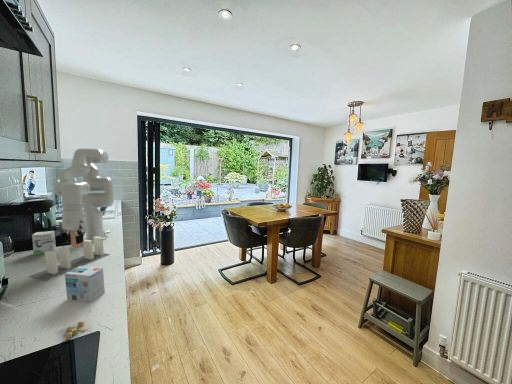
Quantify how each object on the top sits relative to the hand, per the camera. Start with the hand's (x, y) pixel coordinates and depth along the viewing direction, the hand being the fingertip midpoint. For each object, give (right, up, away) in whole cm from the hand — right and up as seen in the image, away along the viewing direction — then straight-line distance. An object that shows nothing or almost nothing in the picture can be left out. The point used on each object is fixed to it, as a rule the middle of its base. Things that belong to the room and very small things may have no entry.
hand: (75, 241), depth 110 cm
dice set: (+36, -19, -43) cm, 59 cm away
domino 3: (+1, -10, +7) cm, 13 cm away
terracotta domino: (0, -2, 0) cm, 2 cm away
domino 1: (-4, -12, -9) cm, 16 cm away
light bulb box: (+25, -16, -25) cm, 39 cm away
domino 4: (+3, -10, +12) cm, 16 cm away
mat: (-1, -12, 0) cm, 12 cm away
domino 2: (-2, -12, -4) cm, 12 cm away
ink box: (-30, -10, +14) cm, 34 cm away
